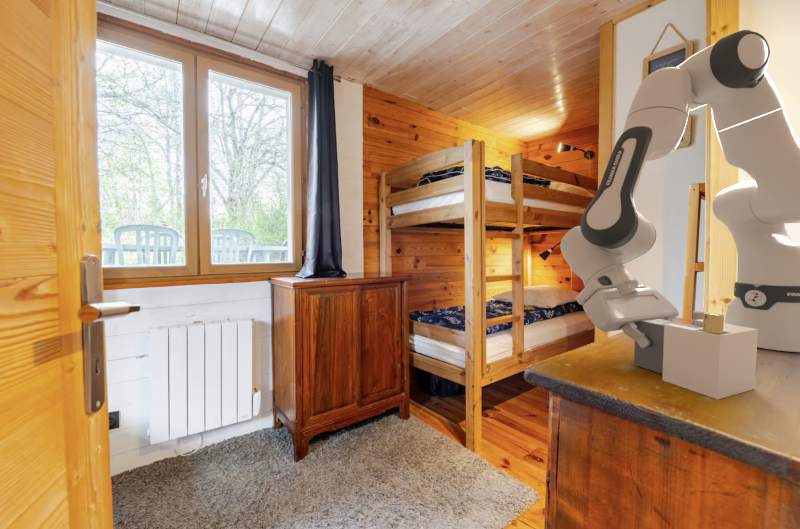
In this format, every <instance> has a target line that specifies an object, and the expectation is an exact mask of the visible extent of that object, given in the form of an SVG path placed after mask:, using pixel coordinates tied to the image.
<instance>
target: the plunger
mask: <svg viewBox="0 0 800 529" xmlns="http://www.w3.org/2000/svg"><path fill="white" fill-rule="evenodd" d="M724 322H725V315H724V314H720V313H716V312H715V313H714V312H704V314H703V332H707V333H712V334H717V335H721V334H723V324H724Z"/></svg>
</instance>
